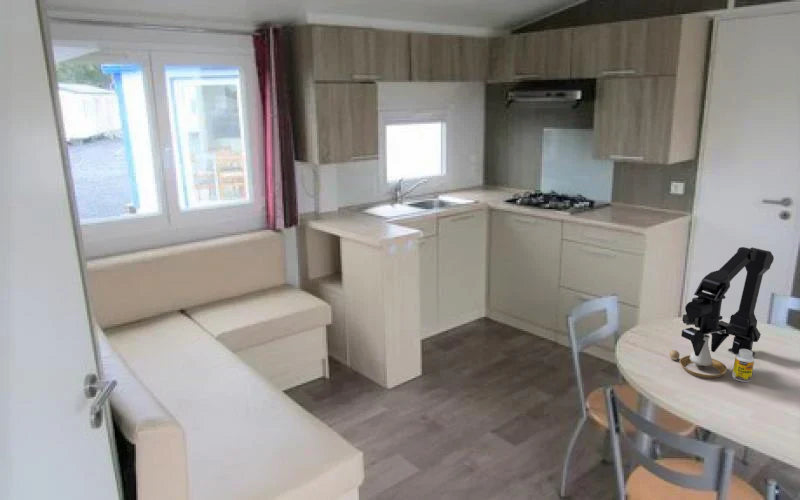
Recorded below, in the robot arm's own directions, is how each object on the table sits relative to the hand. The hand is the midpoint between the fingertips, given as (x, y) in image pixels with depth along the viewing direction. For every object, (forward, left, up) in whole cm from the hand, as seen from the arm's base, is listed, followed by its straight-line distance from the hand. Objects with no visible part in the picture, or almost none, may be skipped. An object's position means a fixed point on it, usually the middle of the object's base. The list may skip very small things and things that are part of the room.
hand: (704, 353), depth 204 cm
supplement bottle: (-5, +11, -6) cm, 13 cm away
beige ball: (+4, -9, -4) cm, 11 cm away
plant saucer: (+1, +1, -6) cm, 7 cm away
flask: (0, -1, -4) cm, 4 cm away
